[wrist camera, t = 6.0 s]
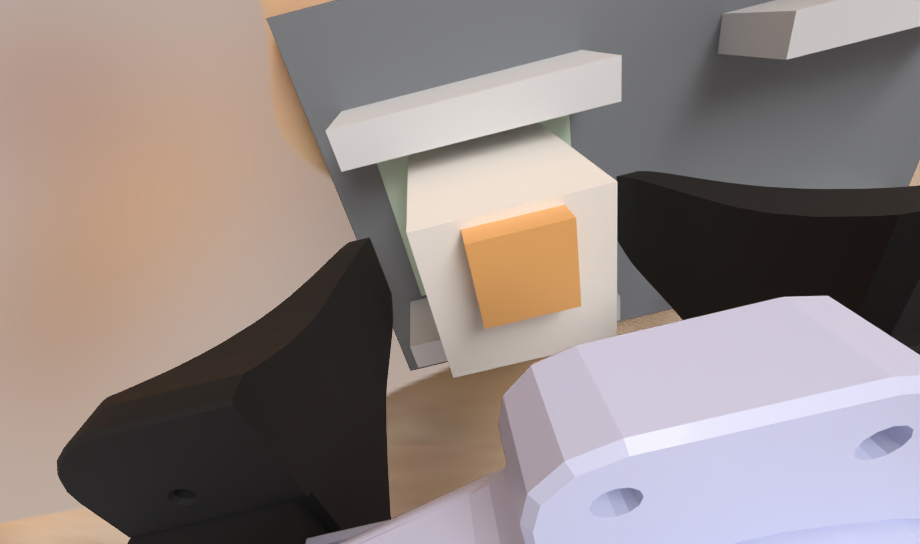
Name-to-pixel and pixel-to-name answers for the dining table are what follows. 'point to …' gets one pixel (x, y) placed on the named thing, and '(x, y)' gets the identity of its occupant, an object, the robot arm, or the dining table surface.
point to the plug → (513, 246)
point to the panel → (602, 101)
